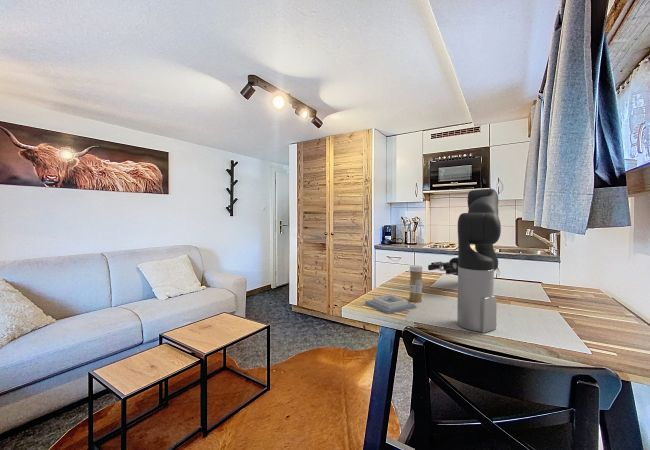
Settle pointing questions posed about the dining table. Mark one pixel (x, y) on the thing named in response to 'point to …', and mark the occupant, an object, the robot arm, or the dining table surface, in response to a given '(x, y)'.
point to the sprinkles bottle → (415, 283)
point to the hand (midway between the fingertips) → (437, 269)
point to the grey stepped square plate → (390, 304)
